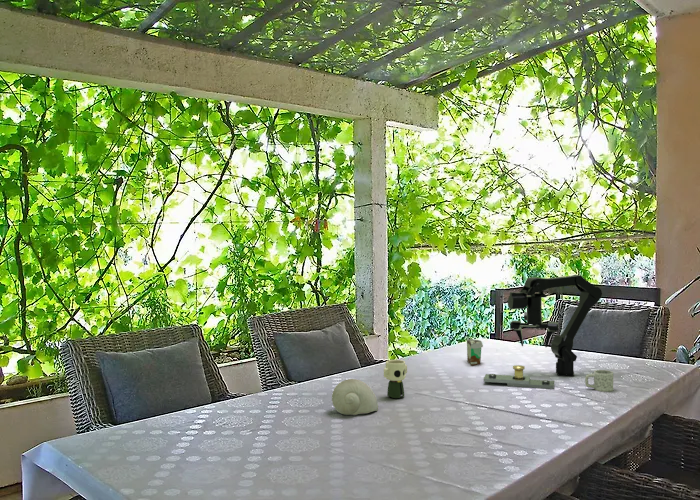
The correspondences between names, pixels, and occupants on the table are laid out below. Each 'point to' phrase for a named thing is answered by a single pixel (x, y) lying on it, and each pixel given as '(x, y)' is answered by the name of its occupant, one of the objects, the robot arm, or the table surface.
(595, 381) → the mug
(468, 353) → the food container
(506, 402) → the table surface
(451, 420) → the table surface
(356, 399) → the seashell
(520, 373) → the brass pin
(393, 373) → the character mug
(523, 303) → the robot arm
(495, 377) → the plate with square hole
